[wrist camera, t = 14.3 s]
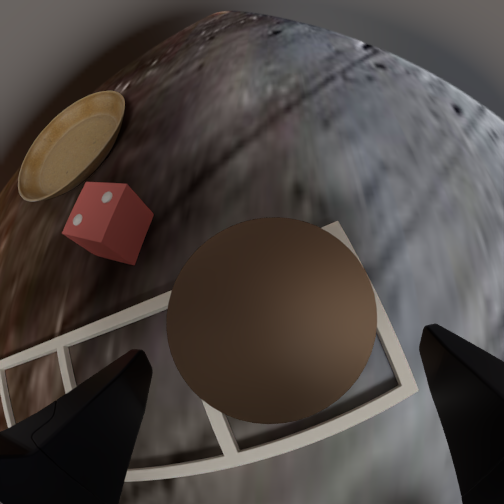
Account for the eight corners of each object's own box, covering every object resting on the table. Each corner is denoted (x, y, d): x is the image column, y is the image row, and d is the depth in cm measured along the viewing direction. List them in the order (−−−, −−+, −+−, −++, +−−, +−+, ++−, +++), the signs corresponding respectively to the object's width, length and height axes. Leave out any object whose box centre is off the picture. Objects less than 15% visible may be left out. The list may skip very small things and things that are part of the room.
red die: (154, 214, 20) (126, 183, 16) (134, 265, 19) (100, 241, 15) (114, 209, 21) (85, 181, 17) (95, 255, 20) (61, 232, 16)
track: (336, 225, 17) (337, 220, 17) (415, 390, 13) (418, 390, 12) (0, 363, 18) (-5, 362, 17) (28, 474, 13) (23, 474, 13)
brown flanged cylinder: (358, 361, 14) (449, 347, 5) (270, 414, 14) (217, 489, 4) (305, 280, 17) (305, 158, 7) (221, 330, 16) (113, 273, 7)
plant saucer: (126, 88, 29) (117, 74, 27) (147, 157, 23) (134, 138, 21) (36, 152, 28) (25, 141, 26) (30, 239, 22) (12, 228, 20)
